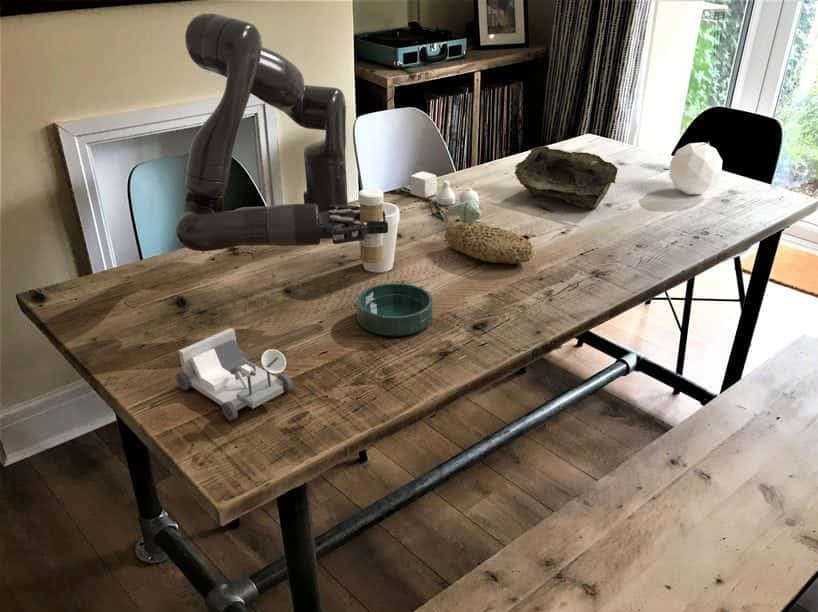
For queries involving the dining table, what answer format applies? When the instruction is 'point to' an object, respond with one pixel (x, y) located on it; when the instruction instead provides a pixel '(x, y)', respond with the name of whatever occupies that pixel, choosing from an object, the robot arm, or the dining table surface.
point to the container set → (427, 186)
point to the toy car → (231, 373)
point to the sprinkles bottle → (371, 211)
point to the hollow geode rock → (566, 175)
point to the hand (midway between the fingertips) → (385, 221)
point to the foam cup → (387, 240)
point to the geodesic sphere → (695, 168)
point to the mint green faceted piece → (468, 211)
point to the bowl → (394, 309)
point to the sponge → (489, 243)
